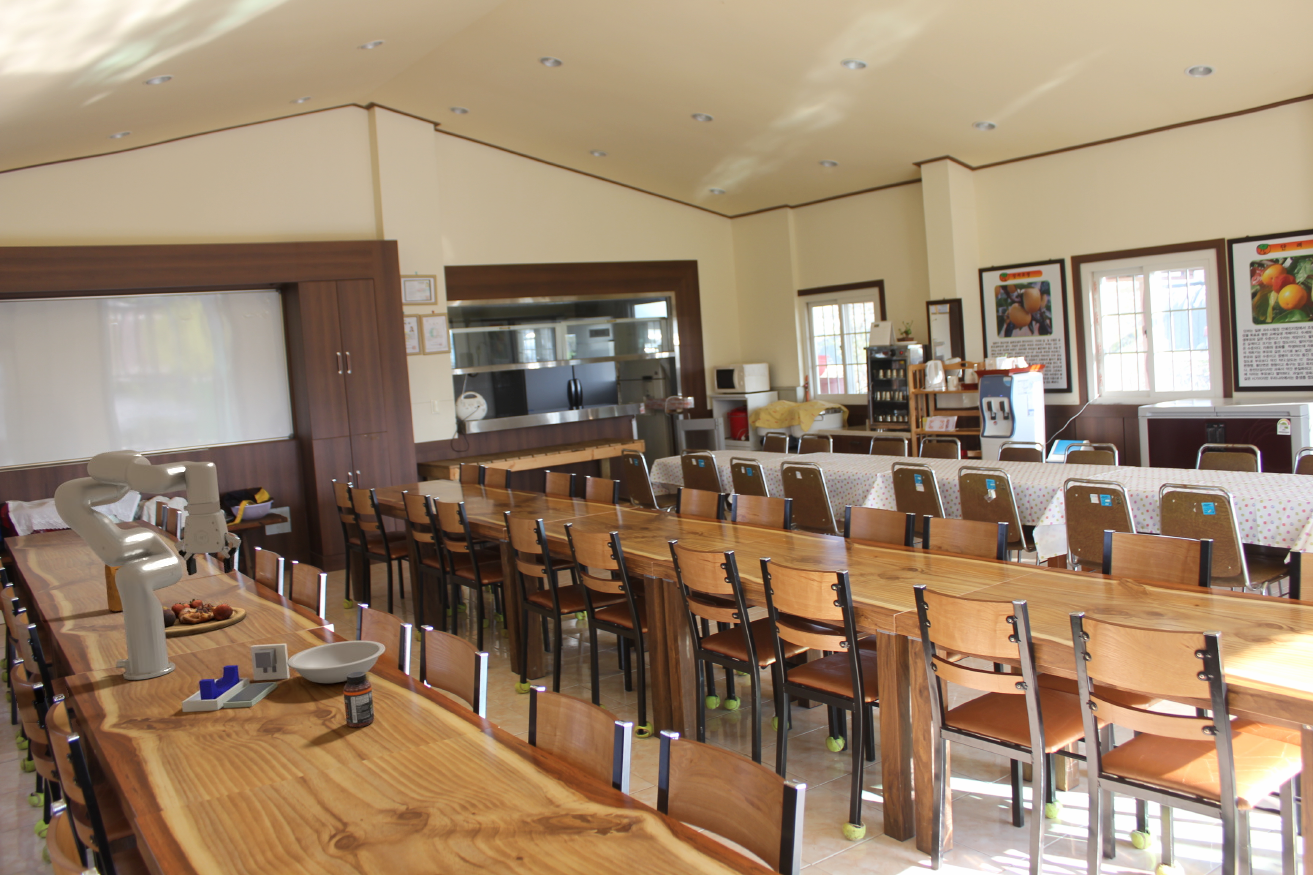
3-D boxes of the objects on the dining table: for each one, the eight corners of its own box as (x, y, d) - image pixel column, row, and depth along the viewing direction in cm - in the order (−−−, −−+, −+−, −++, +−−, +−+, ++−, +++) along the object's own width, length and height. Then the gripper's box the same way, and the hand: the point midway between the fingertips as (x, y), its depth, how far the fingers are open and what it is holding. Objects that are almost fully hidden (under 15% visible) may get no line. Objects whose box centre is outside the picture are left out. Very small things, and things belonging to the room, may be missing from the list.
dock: (182, 711, 227) (181, 702, 227) (216, 688, 243) (216, 679, 243) (218, 709, 226) (217, 700, 226) (249, 686, 243) (248, 677, 243)
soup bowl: (405, 666, 252) (403, 641, 252) (348, 697, 230) (346, 670, 229) (330, 662, 260) (328, 638, 260) (268, 692, 238) (266, 666, 237)
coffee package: (151, 607, 344) (145, 547, 342) (112, 614, 336) (106, 553, 334) (144, 603, 352) (138, 544, 350) (106, 610, 343) (99, 550, 342)
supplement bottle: (345, 721, 213) (340, 672, 212) (372, 716, 215) (368, 667, 215) (347, 730, 208) (343, 679, 207) (376, 724, 210) (371, 674, 209)
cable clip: (223, 688, 241) (220, 665, 241) (239, 688, 241) (237, 664, 241) (195, 705, 230) (193, 681, 229) (213, 705, 229) (210, 680, 229)
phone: (223, 707, 228) (223, 702, 228) (250, 688, 242) (249, 682, 242) (252, 706, 227) (251, 700, 227) (277, 686, 241) (276, 681, 241)
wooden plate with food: (266, 617, 318) (264, 593, 317) (172, 642, 292) (170, 616, 291) (213, 610, 336) (211, 587, 336) (121, 633, 310) (118, 608, 310)
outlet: (248, 684, 245) (244, 650, 244) (256, 678, 249) (252, 645, 249) (282, 682, 245) (279, 648, 244) (289, 676, 249) (286, 643, 248)
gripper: (164, 513, 245) (170, 578, 247) (229, 509, 245) (236, 574, 246) (179, 508, 253) (186, 572, 254) (243, 505, 252) (249, 568, 253)
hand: (210, 573), depth 250 cm, fingers open, 9 cm apart
